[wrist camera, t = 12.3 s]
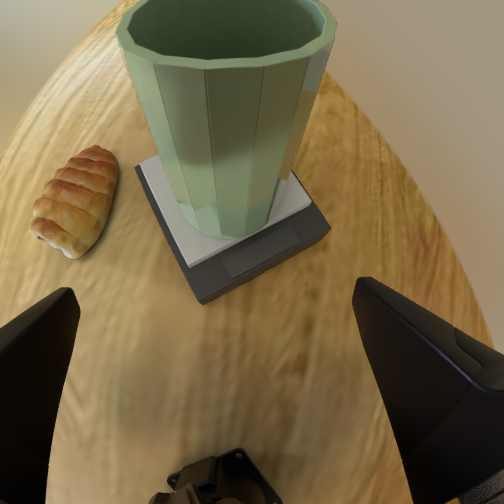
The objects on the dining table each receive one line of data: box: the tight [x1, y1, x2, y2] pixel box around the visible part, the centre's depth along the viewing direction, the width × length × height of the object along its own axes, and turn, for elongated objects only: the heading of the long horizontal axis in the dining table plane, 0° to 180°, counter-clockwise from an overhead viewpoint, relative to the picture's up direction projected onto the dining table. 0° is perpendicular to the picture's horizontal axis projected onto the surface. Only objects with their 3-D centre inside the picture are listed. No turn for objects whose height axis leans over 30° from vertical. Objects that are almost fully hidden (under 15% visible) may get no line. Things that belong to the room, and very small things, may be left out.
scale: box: [134, 155, 331, 305], centre depth 21 cm, size 11×10×3 cm
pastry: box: [29, 145, 118, 259], centre depth 20 cm, size 9×7×4 cm
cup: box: [115, 0, 337, 239], centre depth 13 cm, size 7×7×13 cm
